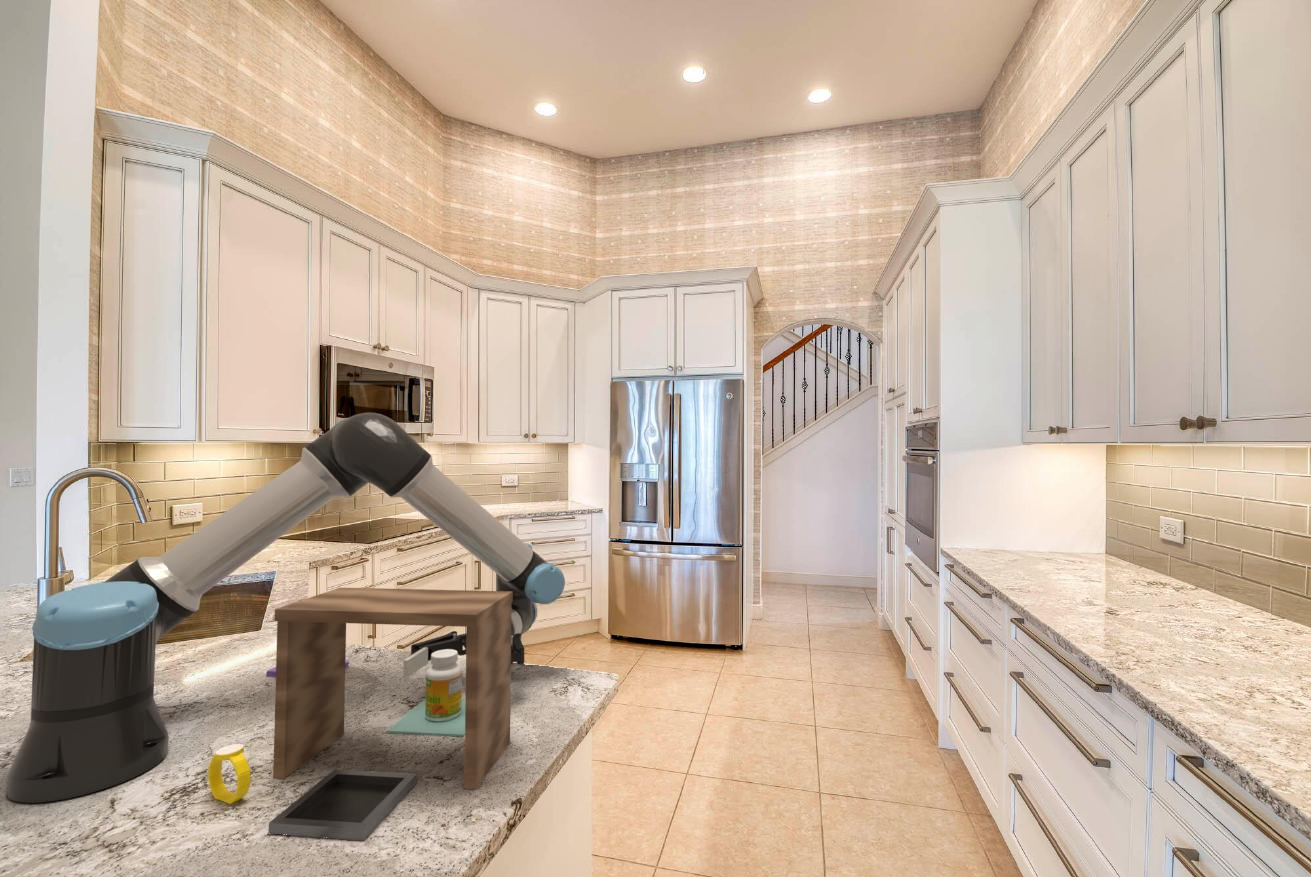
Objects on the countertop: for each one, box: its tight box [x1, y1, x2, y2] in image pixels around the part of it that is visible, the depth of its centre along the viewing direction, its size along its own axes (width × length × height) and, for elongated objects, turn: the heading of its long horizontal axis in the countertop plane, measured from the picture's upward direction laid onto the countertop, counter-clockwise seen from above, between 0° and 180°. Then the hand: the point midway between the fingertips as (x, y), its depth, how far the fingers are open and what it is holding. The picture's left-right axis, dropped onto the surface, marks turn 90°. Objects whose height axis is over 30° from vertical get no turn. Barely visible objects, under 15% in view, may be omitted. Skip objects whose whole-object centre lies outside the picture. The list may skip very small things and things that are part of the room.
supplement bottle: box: [425, 649, 463, 722], centre depth 92 cm, size 5×5×10 cm
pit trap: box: [267, 769, 418, 842], centre depth 67 cm, size 11×11×1 cm
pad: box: [385, 698, 466, 738], centre depth 91 cm, size 12×12×1 cm
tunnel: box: [272, 587, 513, 791], centre depth 79 cm, size 13×27×22 cm, turn 84°
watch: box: [207, 743, 252, 805], centre depth 69 cm, size 6×3×6 cm, turn 67°
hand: (446, 670), depth 91 cm, fingers open, 13 cm apart
